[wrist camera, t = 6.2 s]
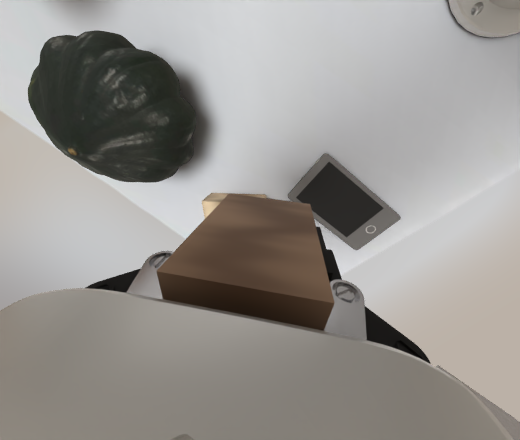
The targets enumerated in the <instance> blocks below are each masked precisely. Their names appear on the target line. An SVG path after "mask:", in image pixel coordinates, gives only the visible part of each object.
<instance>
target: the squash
mask: <svg viewBox="0 0 520 440" xmlns="http://www.w3.org/2000/svg"><path fill="white" fill-rule="evenodd" d="M28 100H29V103H30V106H31V108H32V110H33V112H34V114H35V116H36V118H37V120H38V121H39V123H40V124H41V126H42V127H43V128H44V130H45V131H46V134H47V135H48V137H49V138H50V140H51V141H52V142H53V144H54V145H55V146H56V147H57V148H58V149H59V150H61V151H62V152H63V153H64V154H65V155H66V156H68V157H70V158H71V159H73V160H75V161H77V162H78V163H79V164H80V165H82V166H83V167H85V168H87V169H89V170H91V171H93V172H95V173H97V174H101V175H105V176H108V177H110V178H113V179H115V180H119V181H124V182H159V181H162V180H165V179H167V178H169V177H171V176H173V175H174V174H175V173H176V171H177V170H178V168H179V166H181V165H183V164H185V163H187V162H188V161H189V160H190V159H191V157H192V156H193V144H192V140H191V137H192V135H193V132H194V130H195V127H196V114H195V111H194V109H193V108H192V106H191V105H190V104H189V103H188V102H187V101H186V100H184V99H183V98H182V97H180V85H179V80H178V78H177V75H176V74H175V72H174V70H173V69H172V68H171V66H170V65H169V64H168V63H167V62H166V61H165V60H164V59H162V58H160V57H159V56H157V55H155V54H153V53H151V52H148V51H143V50H139V49H136V48H135V47H134V46H133V45H132V44H131V43H130V42H129V41H128V40H127V39H126V38H124V37H123V36H121V35H119V34H115V33H110V32H105V31H89V32H84V33H82V34H81V35H79V36H77V37H76V36H71V35H64V36H57V37H52V38H50V39H49V40H48V41H47V42H46V43H45V44H44V46H43V48H42V50H41V53H40V63H39V65H38V66H37V68H36V69H35V70H34V72H33V75H32V77H31V82H30V85H29V87H28Z"/></svg>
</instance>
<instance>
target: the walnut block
mask: <svg viewBox="0 0 520 440" xmlns="http://www.w3.org/2000/svg"><path fill="white" fill-rule="evenodd" d="M156 272H157V276H158V280H159V285H160V289H161V293H162V298H164V300H169V301H174V302H180V303H185V304H190V305H196V306H201V307H206V308H211V309H216V310H222V311H227V312H232V313H237V314H242V315H247V316H252V317H257V318H263V319H268V320H273V321H278V322H283V323H288V324H293V325H298V326H303V327H308V328H313V329H318V330H321V329H325V326H326V324H327V321H328V319H329V316H330V314H331V311H332V309H333V306H334V304H335V302H334V298H333V294H332V290H331V286H330V282H329V278H328V274H327V270H326V266H325V262H324V258H323V254H322V250H321V246H320V242H319V238H318V234H317V230H316V226H315V221H314V217H313V213H312V209H311V205H310V204H305V203H298V202H290V201H282V200H275V199H267V198H260V197H252V196H244V195H237V194H228V195H227V196H226V197H225V198H224V199H223V200H222V201H221V203H220V204H219V205H218V206H217V207H216V208H215V209H214V210H213V211H212V212H211V213H210V214H209V215H208V216H207V217H206V219H205V220H204V221H203V222H202V223H201V224H200V225H199V226H198V227H197V228H196V229H195V230H194V231H193V232H192V234H191V235H190V236H189V237H188V238H187V239H186V240H185V241H184V242H183V243H182V244H181V245H180V246H179V247H178V249H177V250H176V251H175V252H174V253H173V254H172V255H171V256H170V257H169V258H168V259H167V260H166V261H165V262H164V263H163V265H162V266H161V267H160V268H159V269H158V270H157V271H156Z"/></svg>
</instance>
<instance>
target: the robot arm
mask: <svg viewBox="0 0 520 440" xmlns="http://www.w3.org/2000/svg"><path fill="white" fill-rule="evenodd" d="M449 4H450V8H451V11H452V13H453V15H454V16H455V18H456V20H457V22H458V23H459V24H460V25H461V26H463V27H464V28H465V29H466V30H467V31H469V32H471V33H474V34H476V35H478V36H484V37H504V36H509V35H513V34H516V33H520V0H449ZM471 12H472V13H471ZM316 230H317V234H318V238H319V242H320V246H321V250H322V254H323V258H324V262H325V266H326V270H327V274H328V278H329V282H330V286H331V290H332V294H333V298H334V302H335V304H334V306H333V309H332V311H331V314H330V316H329V319H328V321H327V324H326V326H325V329H321V330H318V329H313V328H308V327H303V326H298V325H293V324H288V323H283V322H278V321H273V320H268V319H263V318H257V317H252V316H247V315H242V314H237V313H232V312H227V311H222V310H216V309H211V308H206V307H201V306H196V305H190V304H185V303H180V302H174V301H169V300H164V298H162V293H161V289H160V285H159V280H158V276H157V272H156V271H157V270H158V269H159V268H160V267H161V266H162V265H163V263H164V262H165V261H166V260H167V259H168V258H169V257H170V256H171V255H172V254H173V253H174V252H172V251H162V252H158V253H155V254H153V255H152V256H150V257H149V258H148V259H147V260H146V261H145V263H144V264H143V266H142V268H141V269H138V270H135V271H132V272H129V273H125V274H122V275H119V276H116V277H112V278H109V279H106V280H103V281H99V282H97V283H94V284H92V285H90V286H88V287H86V288H76V289H63V290H55V291H49V292H44V293H40V294H36V295H32V296H29V297H27V298H24V299H22V300H20V301H18V302H16V303H13V304H12V305H10V306H8V307H6V308H4V309H2V310H1V311H0V440H520V422H519V421H517V420H516V419H515V418H514V417H512V416H511V415H509V414H508V413H506V412H505V411H503V410H502V409H501V408H499V407H498V406H496V405H495V404H493V403H492V402H490V401H489V400H487V399H486V398H485V397H483V396H482V395H480V394H479V393H477V392H476V391H474V390H473V389H472V388H470V387H469V386H467V385H466V384H464V383H463V382H461V381H460V380H458V379H457V378H456V377H454V376H453V375H451V374H450V373H448V372H447V371H445V370H444V369H442V368H441V367H440V366H437V367H435V366H433V365H431V364H430V361H429V360H428V358H427V357H426V355H425V354H424V352H423V351H422V350H421V349H420V348H419V347H418V346H417V345H416V344H414V343H413V342H412V341H410V340H409V339H408V338H407V337H405V336H404V335H403V334H401V333H400V332H399V331H397V330H396V329H395V328H393V327H392V326H390V325H389V324H388V323H387V322H385V321H384V320H382V319H381V318H380V317H378V316H377V315H376V314H375V313H373V312H372V311H370V310H369V309H368V308H367V307H365V305H364V297H363V294H362V292H361V291H360V289H358V288H357V287H356V286H355V285H354V284H352V283H350V282H348V281H345V280H342V279H341V275H340V272H339V269H338V266H337V263H336V260H335V257H334V254H333V252H332V250H327V249H326V247H325V243H324V240H323V236H322V233H321V229H320V227H316ZM191 234H192V233H191ZM191 234H190V235H191ZM177 249H178V248H177ZM177 249H176V250H177Z"/></svg>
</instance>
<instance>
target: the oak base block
mask: <svg viewBox="0 0 520 440" xmlns="http://www.w3.org/2000/svg"><path fill="white" fill-rule="evenodd" d="M227 195H228V193H211V194H210V195H209V196H207V197H206V198H205V199H204V200H203V201H202V205H203V211H204V216H205V219H206V217H207V216H208V215H209V214H210V213H211V212H212V211H213V210H214V209H215V208H216V207H217V206H218V205H219V204H220V203H221V201H222V200H223V199H224V198H225V197H226V196H227ZM237 195H244V196H252V197H260V198H266V195H259V194H237Z"/></svg>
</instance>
